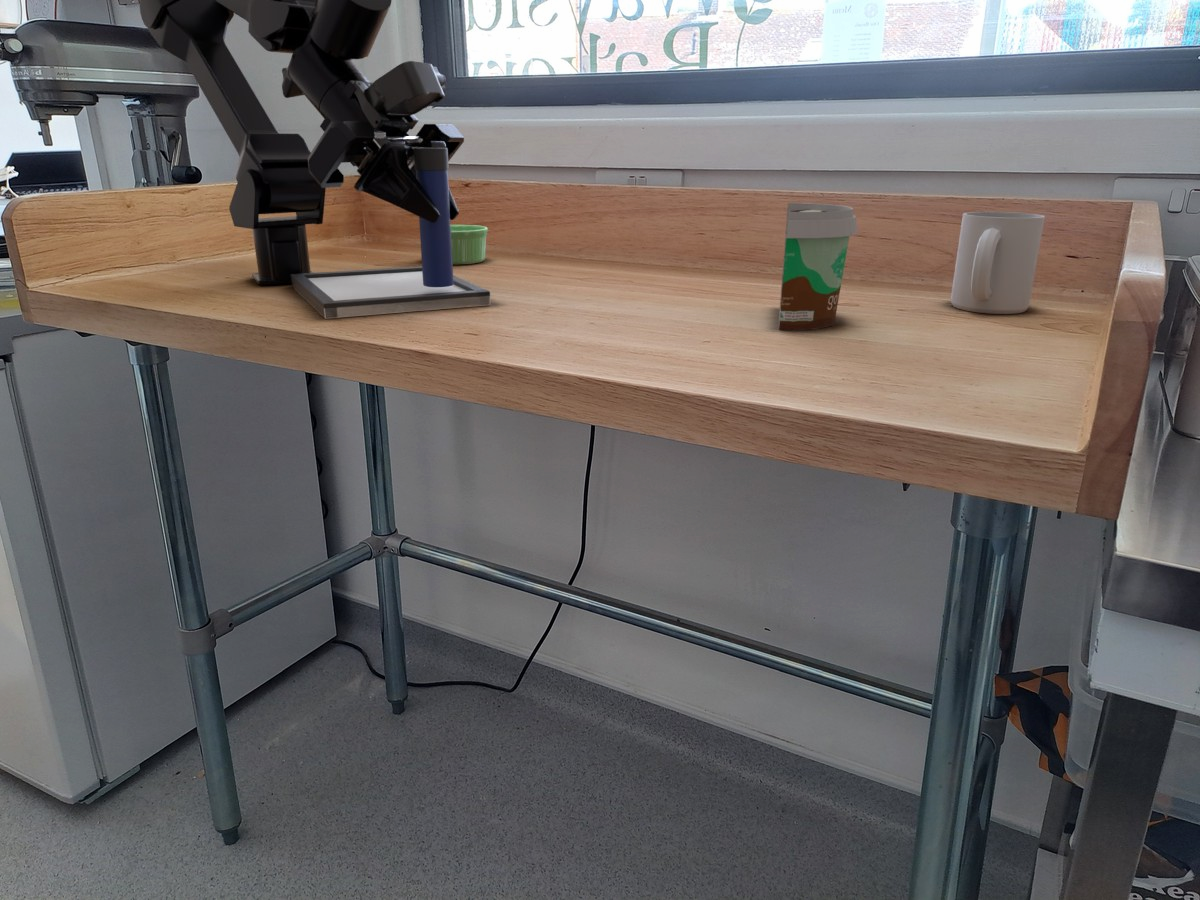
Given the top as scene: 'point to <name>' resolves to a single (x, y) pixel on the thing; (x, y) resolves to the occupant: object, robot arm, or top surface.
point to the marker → (438, 235)
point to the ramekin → (468, 244)
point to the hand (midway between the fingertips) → (446, 218)
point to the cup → (996, 261)
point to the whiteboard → (383, 292)
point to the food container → (814, 264)
